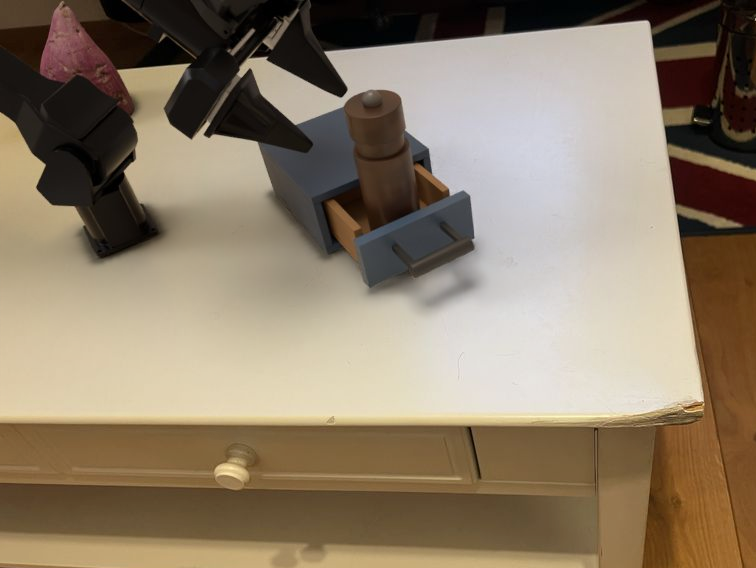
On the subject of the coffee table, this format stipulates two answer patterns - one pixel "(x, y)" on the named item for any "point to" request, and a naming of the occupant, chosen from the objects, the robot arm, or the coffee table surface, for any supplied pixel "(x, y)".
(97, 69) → the vegetable
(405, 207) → the pepper mill
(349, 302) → the coffee table surface
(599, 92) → the coffee table surface
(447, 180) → the coffee table surface
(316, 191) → the cabinet
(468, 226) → the drawer
